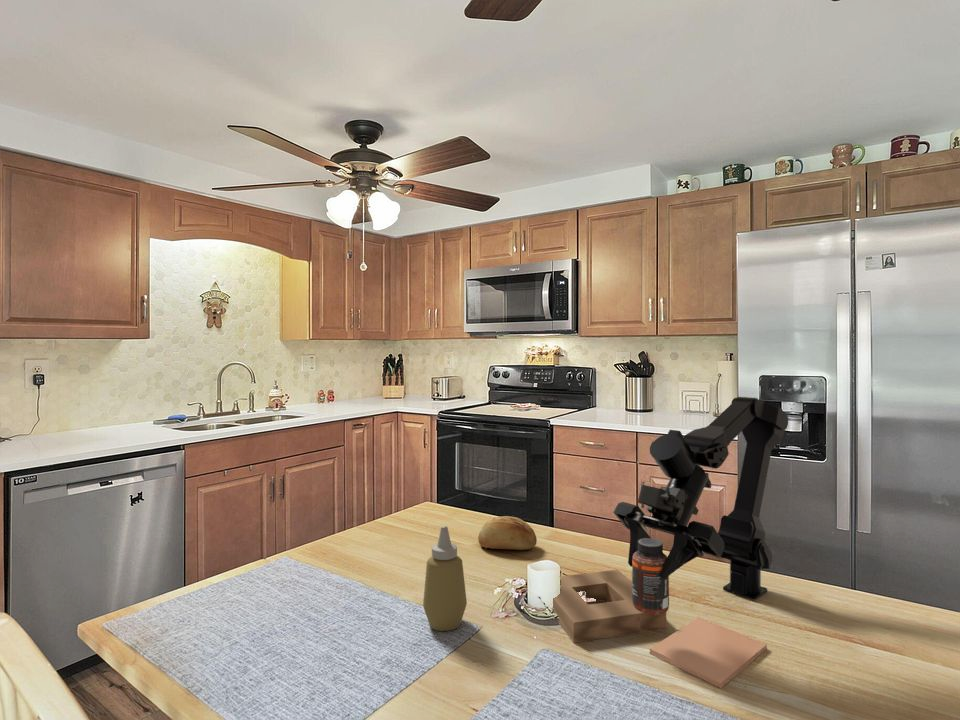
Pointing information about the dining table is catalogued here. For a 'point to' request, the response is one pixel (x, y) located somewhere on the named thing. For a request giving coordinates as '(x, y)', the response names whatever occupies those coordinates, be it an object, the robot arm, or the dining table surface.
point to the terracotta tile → (709, 651)
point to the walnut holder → (601, 607)
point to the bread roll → (507, 534)
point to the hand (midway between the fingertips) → (645, 571)
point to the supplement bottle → (649, 578)
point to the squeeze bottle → (444, 585)
